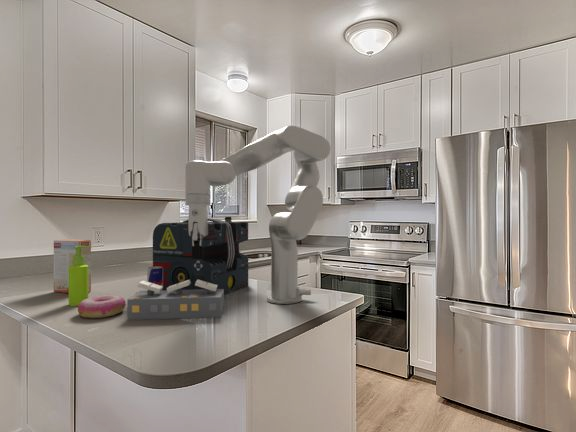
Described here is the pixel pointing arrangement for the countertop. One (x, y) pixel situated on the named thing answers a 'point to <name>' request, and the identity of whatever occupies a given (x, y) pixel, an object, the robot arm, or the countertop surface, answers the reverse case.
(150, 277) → the energy drink
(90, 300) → the donut
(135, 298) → the panel
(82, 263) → the soap dispenser
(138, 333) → the countertop surface
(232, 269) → the power unit
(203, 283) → the rocker
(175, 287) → the block
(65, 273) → the cracker box
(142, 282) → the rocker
